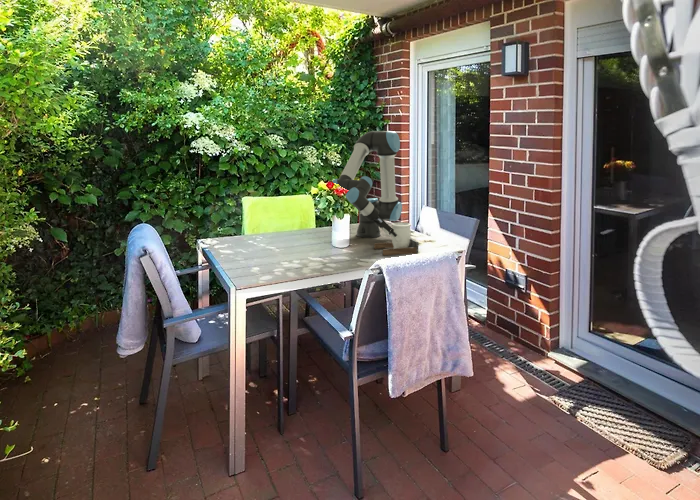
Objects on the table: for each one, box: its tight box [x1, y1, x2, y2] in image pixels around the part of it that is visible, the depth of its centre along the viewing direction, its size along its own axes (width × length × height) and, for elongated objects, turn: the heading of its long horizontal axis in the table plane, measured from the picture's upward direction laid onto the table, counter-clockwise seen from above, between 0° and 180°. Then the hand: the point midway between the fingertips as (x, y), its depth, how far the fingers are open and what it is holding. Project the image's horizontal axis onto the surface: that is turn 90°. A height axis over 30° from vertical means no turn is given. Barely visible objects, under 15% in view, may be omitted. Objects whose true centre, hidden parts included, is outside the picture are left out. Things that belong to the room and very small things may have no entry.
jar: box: [390, 221, 412, 249], centre depth 287 cm, size 11×10×15 cm
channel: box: [373, 237, 419, 256], centre depth 287 cm, size 16×20×6 cm
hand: (395, 237), depth 286 cm, fingers open, 13 cm apart
